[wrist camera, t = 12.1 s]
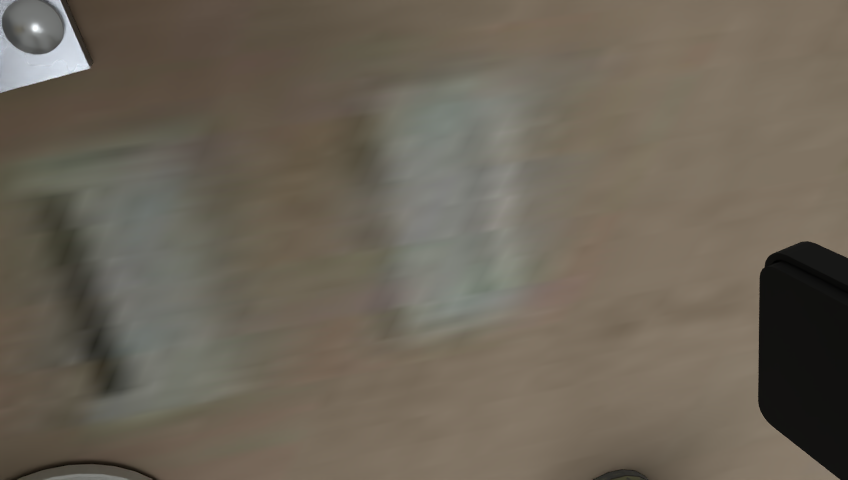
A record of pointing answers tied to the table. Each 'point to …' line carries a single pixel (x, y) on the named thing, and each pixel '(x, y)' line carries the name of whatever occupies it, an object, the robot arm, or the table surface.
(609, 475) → the thermos
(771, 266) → the robot arm
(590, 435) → the table surface
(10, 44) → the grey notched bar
